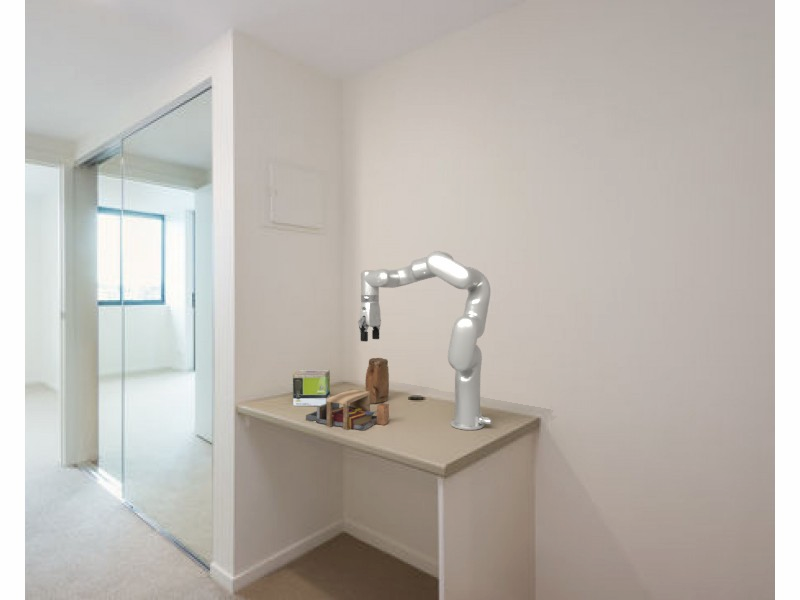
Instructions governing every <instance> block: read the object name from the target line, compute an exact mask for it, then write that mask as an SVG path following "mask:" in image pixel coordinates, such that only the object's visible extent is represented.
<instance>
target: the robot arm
mask: <svg viewBox="0 0 800 600" xmlns="http://www.w3.org/2000/svg"><path fill="white" fill-rule="evenodd" d="M432 278H433V279H434V278H439V279H441V280H442V281H444V282H446V283H447V284H449V285H450V286H452V287H453V288H456V289H458V290H467V293H468V295H467V298H466V300H465V304H464V305H465V307H464V311H463V314H462V316H460V317H458V318H457V319H456V320H455V322H454V323H453V326H452V330H451V333H450V334H451V335H450V341H449V344H448V345H449V347H448V352H447V360H448V364H449V365H450V367H451V368H452V369H453V370H455V372H454V373H455V374H454V375H455V376H454V418H453V419H451V420H450V425H451V427H453V428H455V429H457V430H464V431H465V430H466V431H476V430H480V429H482V428H484V427H485V424H486V425H492V419H491V418H490V417H488V416H487V417H484V416H483V412H481V370H482V360H483V355H482V354H483V353H482V350H481V348H480V347H479V345H477V342H478V339H479V338H481V337H482V336H483V334H484V333H485V329H486V322H487V317H488V311H489V310H488V309H489V303H490V299H491V284H490V282H489V279H488V278H487V277H486V275H485V274H484V273H483V272H481V271H480V270H478V269H477V268H474V267H471V266H466V265H463V264H462V263H461V262H458V261H457V260H455V259H454V257H453V255H451V254H450V253H448V252H445V251H439V250H436V251H435V250H434V251H433V252H431V253H429V254H428V255H427V256H426V257H422V258H419V259H414V260H412V261H411V263H410V264H409V265H407V266H405V267H402V268H398V269H386V268H380V269H375V270H374V269H373V270H372V269H371V270H368V269H367V270H362V272H361V273H360V314H359V316H360V317H359V320H358V322H357V323H358V328H359V333H360V342H368V339H369V332H368V329H369V327H370V328H372V329H371V331H372V332H371V333H372V335H371V337H372V340H380V329H381V324H382V318H381V316H382V315H381V306H380V302H379V301H380V288H386V289H387V288H389V289H391V288H392V289H393V288H395V289H396V288H399V287H403V286H406V285H410V284H414V283H417V282H420V281H421V282H422V281H425V280H428V279H432Z"/></svg>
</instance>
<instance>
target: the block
mask: <svg viewBox="0 0 800 600" xmlns="http://www.w3.org/2000/svg"><path fill="white" fill-rule="evenodd" d="M388 363H389V361H388V359H387V358H382V357H375V358H374V357H373V358H369V360H368V367H367V369H366V373H365V391H368V392H370V404H377V403H378V404H379V403H380V404H381V403H385V402H387V401H388V399H389V394H390V393H389V392H390V389H389V388H390V382H389V381H390V379H389V378H390V374H389V366H388Z"/></svg>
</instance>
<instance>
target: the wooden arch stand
mask: <svg viewBox="0 0 800 600" xmlns="http://www.w3.org/2000/svg"><path fill="white" fill-rule="evenodd" d="M332 402H334V403H339V404H342V407H343V427H342V428H343V429H342V430H347V431H348V430H349V429H350V428H349V406H351V407H354V408H356V409H358V408H360V409H362V410H364V411H371V403H370V392H368V391H366V390H360V389H359V390H357V389H349V390H346V391H343V392H340V393H338V394H334V395H332V396H330V397H329V398H327V424H326V427H327V426H329V427H328V428H331V427H332V426H333V425H332Z"/></svg>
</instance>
